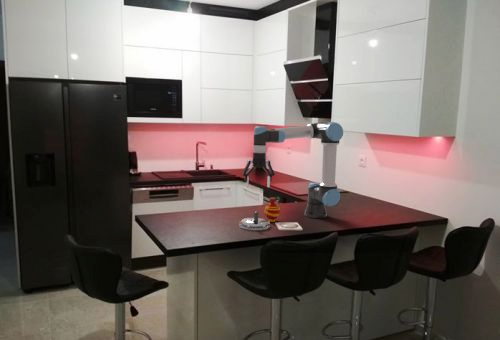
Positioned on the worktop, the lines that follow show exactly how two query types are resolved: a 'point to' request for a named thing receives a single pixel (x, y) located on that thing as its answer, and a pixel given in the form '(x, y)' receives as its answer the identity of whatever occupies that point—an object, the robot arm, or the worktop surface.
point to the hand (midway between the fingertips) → (257, 187)
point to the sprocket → (254, 222)
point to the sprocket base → (254, 228)
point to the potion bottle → (272, 210)
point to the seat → (288, 226)
